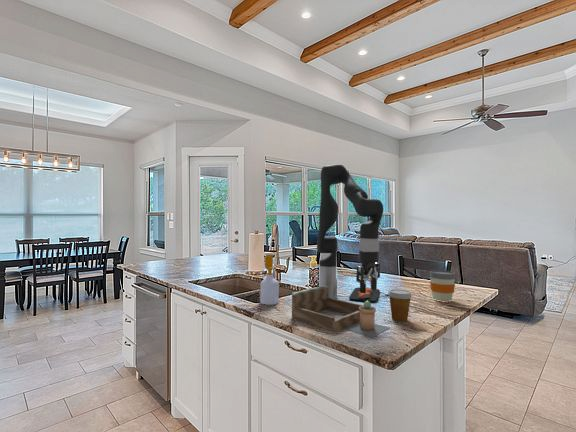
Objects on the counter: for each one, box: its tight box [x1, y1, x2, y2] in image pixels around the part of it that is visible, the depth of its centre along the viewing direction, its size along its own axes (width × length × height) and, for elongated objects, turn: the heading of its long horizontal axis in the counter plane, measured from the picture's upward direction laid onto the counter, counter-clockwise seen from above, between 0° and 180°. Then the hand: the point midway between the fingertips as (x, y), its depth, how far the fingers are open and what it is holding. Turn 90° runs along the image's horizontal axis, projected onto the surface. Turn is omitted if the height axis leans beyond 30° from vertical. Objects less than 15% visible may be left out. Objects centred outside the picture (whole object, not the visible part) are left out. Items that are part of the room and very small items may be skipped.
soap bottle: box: [259, 253, 280, 306], centre depth 160 cm, size 9×9×25 cm
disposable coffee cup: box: [387, 288, 412, 323], centre depth 137 cm, size 10×10×12 cm
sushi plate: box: [349, 286, 389, 302], centre depth 175 cm, size 29×30×4 cm
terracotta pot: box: [359, 301, 377, 331], centre depth 125 cm, size 6×6×11 cm
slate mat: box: [344, 321, 391, 338], centre depth 125 cm, size 14×12×1 cm
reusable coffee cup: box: [429, 269, 456, 301], centre depth 170 cm, size 13×13×15 cm
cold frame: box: [291, 285, 364, 333], centre depth 137 cm, size 24×23×11 cm
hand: (368, 291), depth 125 cm, fingers open, 8 cm apart
